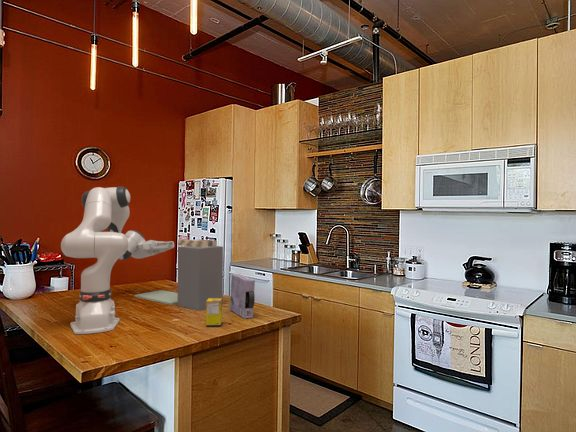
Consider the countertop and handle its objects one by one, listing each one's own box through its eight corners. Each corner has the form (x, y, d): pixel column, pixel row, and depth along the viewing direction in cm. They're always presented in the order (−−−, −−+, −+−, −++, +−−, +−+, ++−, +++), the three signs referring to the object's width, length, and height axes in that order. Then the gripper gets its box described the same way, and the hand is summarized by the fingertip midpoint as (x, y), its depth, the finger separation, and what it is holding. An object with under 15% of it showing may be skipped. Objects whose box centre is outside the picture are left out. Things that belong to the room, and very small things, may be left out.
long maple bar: (177, 245, 208) (178, 239, 208) (182, 244, 210) (182, 239, 210) (203, 247, 196) (203, 241, 196) (208, 246, 199) (208, 241, 199)
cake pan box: (255, 318, 176) (255, 279, 176) (245, 320, 173) (245, 280, 173) (239, 309, 192) (239, 273, 192) (229, 310, 190) (229, 274, 190)
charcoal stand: (177, 305, 198) (177, 246, 198) (201, 300, 211) (201, 244, 211) (198, 310, 189) (199, 248, 189) (222, 304, 202) (222, 246, 202)
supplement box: (222, 322, 168) (222, 297, 168) (220, 327, 162) (220, 300, 162) (208, 322, 168) (208, 297, 168) (206, 327, 162) (206, 300, 162)
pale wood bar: (196, 245, 207) (196, 239, 207) (200, 245, 209) (200, 239, 209) (212, 246, 200) (212, 240, 200) (216, 246, 202) (216, 240, 202)
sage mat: (134, 296, 218) (134, 294, 218) (161, 291, 233) (161, 289, 233) (170, 305, 200) (170, 303, 200) (197, 298, 214) (197, 297, 214)
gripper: (133, 243, 214) (147, 239, 206) (164, 241, 231) (179, 237, 223) (134, 255, 214) (149, 251, 206) (166, 252, 230) (180, 248, 222)
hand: (165, 243), depth 214 cm, fingers open, 8 cm apart
